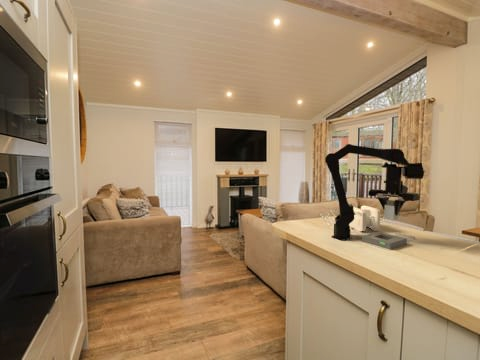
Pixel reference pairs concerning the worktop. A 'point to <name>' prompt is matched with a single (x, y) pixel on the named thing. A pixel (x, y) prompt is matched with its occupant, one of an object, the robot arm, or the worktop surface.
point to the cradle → (405, 236)
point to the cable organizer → (366, 218)
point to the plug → (390, 211)
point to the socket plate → (384, 240)
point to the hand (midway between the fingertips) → (391, 214)
